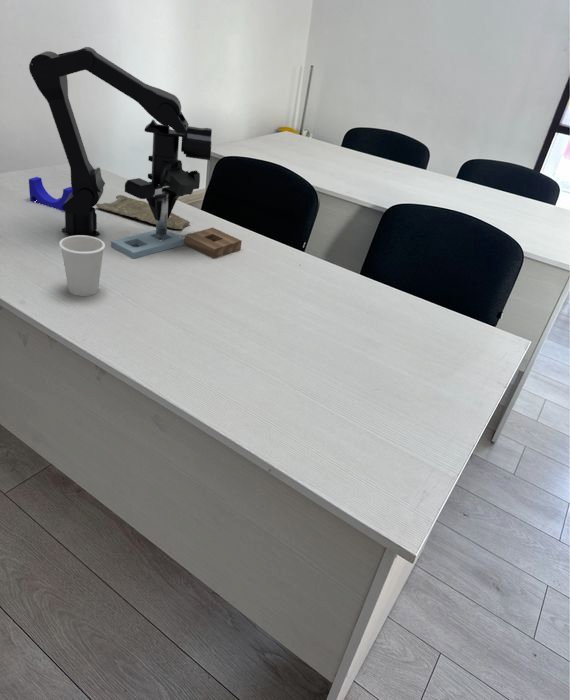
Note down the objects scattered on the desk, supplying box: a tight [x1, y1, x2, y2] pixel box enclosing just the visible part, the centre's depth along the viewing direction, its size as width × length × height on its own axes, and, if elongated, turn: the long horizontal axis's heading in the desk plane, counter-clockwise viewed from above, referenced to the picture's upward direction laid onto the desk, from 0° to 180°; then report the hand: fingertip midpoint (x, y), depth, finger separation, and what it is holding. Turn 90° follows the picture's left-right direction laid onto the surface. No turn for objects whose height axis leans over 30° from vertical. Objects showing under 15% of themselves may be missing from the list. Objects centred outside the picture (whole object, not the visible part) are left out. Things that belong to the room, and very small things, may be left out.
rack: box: [110, 229, 185, 259], centre depth 140 cm, size 16×8×2 cm, turn 143°
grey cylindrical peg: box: [155, 191, 169, 235], centre depth 140 cm, size 3×3×10 cm
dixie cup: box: [58, 235, 106, 297], centre depth 115 cm, size 8×8×10 cm
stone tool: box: [95, 194, 191, 231], centre depth 156 cm, size 11×3×25 cm
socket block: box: [184, 227, 243, 259], centre depth 145 cm, size 10×10×2 cm
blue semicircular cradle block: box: [28, 176, 72, 212], centre depth 152 cm, size 12×4×6 cm, turn 70°
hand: (161, 219), depth 140 cm, fingers closed on grey cylindrical peg, 3 cm apart
